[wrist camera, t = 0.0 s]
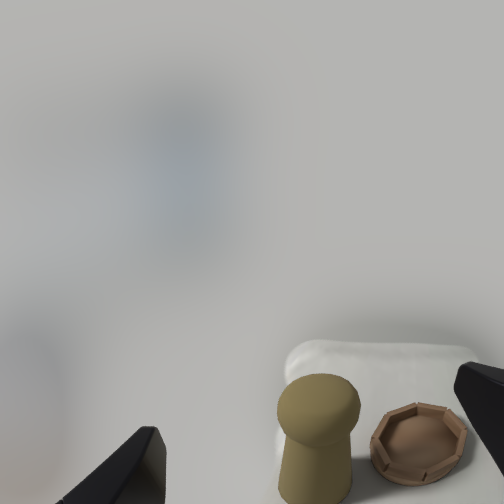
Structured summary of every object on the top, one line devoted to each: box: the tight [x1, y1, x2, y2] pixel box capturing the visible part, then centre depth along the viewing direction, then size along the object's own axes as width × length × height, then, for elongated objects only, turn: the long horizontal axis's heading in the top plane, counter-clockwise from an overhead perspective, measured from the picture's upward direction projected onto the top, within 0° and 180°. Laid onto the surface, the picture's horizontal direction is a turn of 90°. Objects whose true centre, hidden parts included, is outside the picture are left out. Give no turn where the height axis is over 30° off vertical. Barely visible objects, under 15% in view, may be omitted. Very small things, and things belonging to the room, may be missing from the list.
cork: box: [277, 373, 361, 504], centre depth 17 cm, size 6×6×11 cm
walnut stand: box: [370, 402, 468, 486], centre depth 19 cm, size 9×9×2 cm
